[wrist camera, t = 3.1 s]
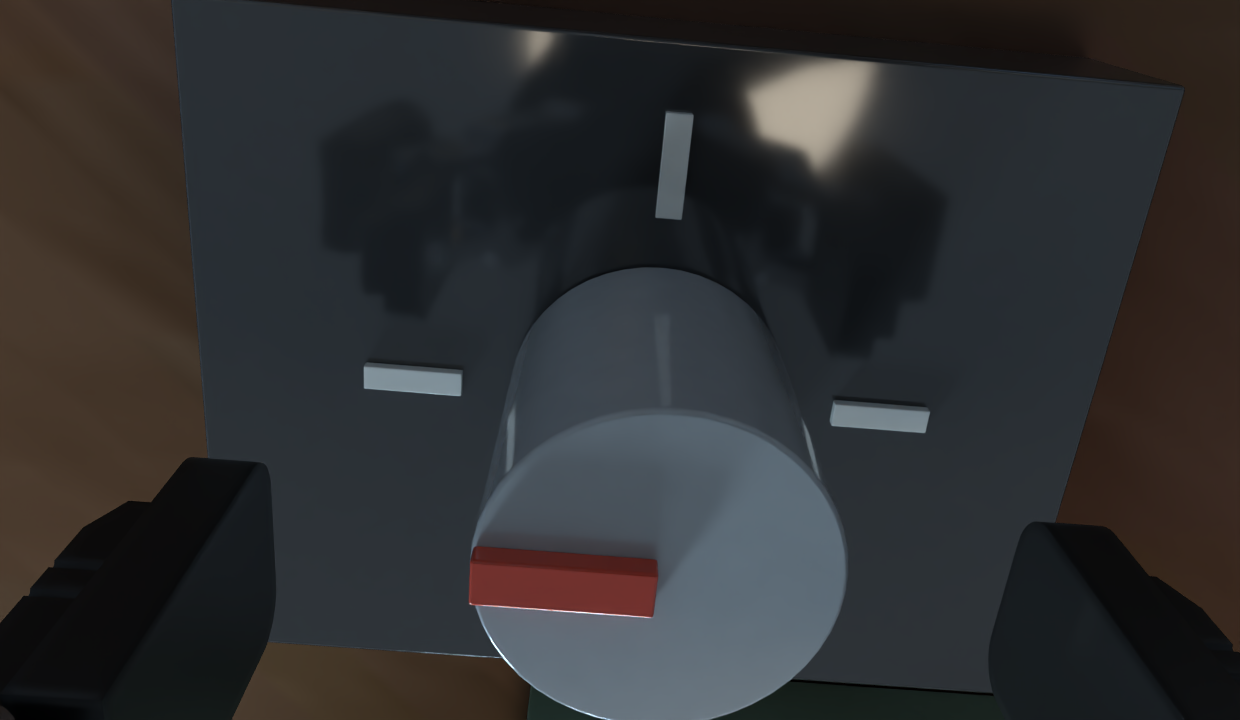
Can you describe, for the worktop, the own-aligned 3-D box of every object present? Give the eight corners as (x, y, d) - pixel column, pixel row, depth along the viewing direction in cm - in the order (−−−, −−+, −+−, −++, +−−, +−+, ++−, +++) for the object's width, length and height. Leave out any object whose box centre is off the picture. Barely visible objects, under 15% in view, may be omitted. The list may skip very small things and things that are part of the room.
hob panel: (1090, 57, 16) (1194, 87, 13) (952, 588, 20) (1008, 702, 17) (248, -22, 15) (163, -8, 13) (277, 538, 19) (217, 646, 17)
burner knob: (806, 278, 14) (890, 439, 10) (764, 525, 16) (821, 759, 11) (517, 254, 14) (471, 407, 10) (505, 504, 16) (459, 735, 11)
